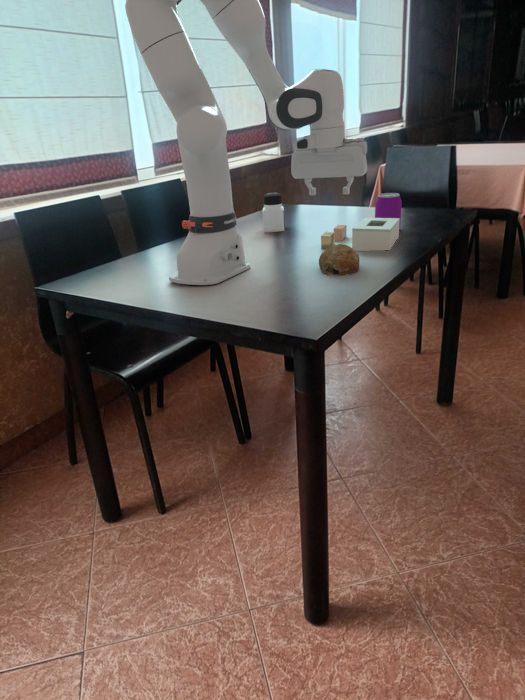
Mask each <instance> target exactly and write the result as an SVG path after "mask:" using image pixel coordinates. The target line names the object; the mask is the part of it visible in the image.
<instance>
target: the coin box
mask: <svg viewBox="0 0 525 700" xmlns="http://www.w3.org/2000/svg"><path fill="white" fill-rule="evenodd" d="M399 224H400V218H375V217H363V218H362V219H361V220H360V221H359V222H358V223H356V225H354V226H353V227H352V229H351V230H352V238H351V244H352V245H351V248H353V249H354V250H355V251H356V252H371V251H370V250H390V249H392V248H393V247H394V245H395V244H396V243H395V241H396V240H397V239H398V240H399V238H400V237H399V236H400V231H399ZM398 237H399V238H398ZM398 240H397V241H398ZM397 241H396V242H397ZM394 243H395V244H394ZM393 244H394V245H393ZM392 246H393V247H392ZM391 247H392V248H391ZM390 251H391V250H390Z"/></svg>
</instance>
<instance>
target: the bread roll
mask: <svg viewBox="0 0 525 700" xmlns="http://www.w3.org/2000/svg"><path fill="white" fill-rule="evenodd" d="M318 266H319V270H320V271H321V273H322V274H325V275H327V276H329V275H333V276H347V275H346V274H349V275H352V273H353V274H355V272H356V273H357V272H359V270H360V255H359V252H358V251H355V250H354V249H353V248H352V246H349V245H346V244H342V243H338V244H335V245H334V246H333V247H331V248H329V249H323V251H322V252H321V254H320V255H319V259H318Z"/></svg>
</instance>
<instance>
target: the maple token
mask: <svg viewBox="0 0 525 700" xmlns="http://www.w3.org/2000/svg"><path fill="white" fill-rule="evenodd" d="M320 241H321V242H320V248H321V250H322V249H323V250H326V249H329V248H331V247H334V246H336V241H335V232H334V231H326V232H324V233H323V234H321V235H320Z"/></svg>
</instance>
